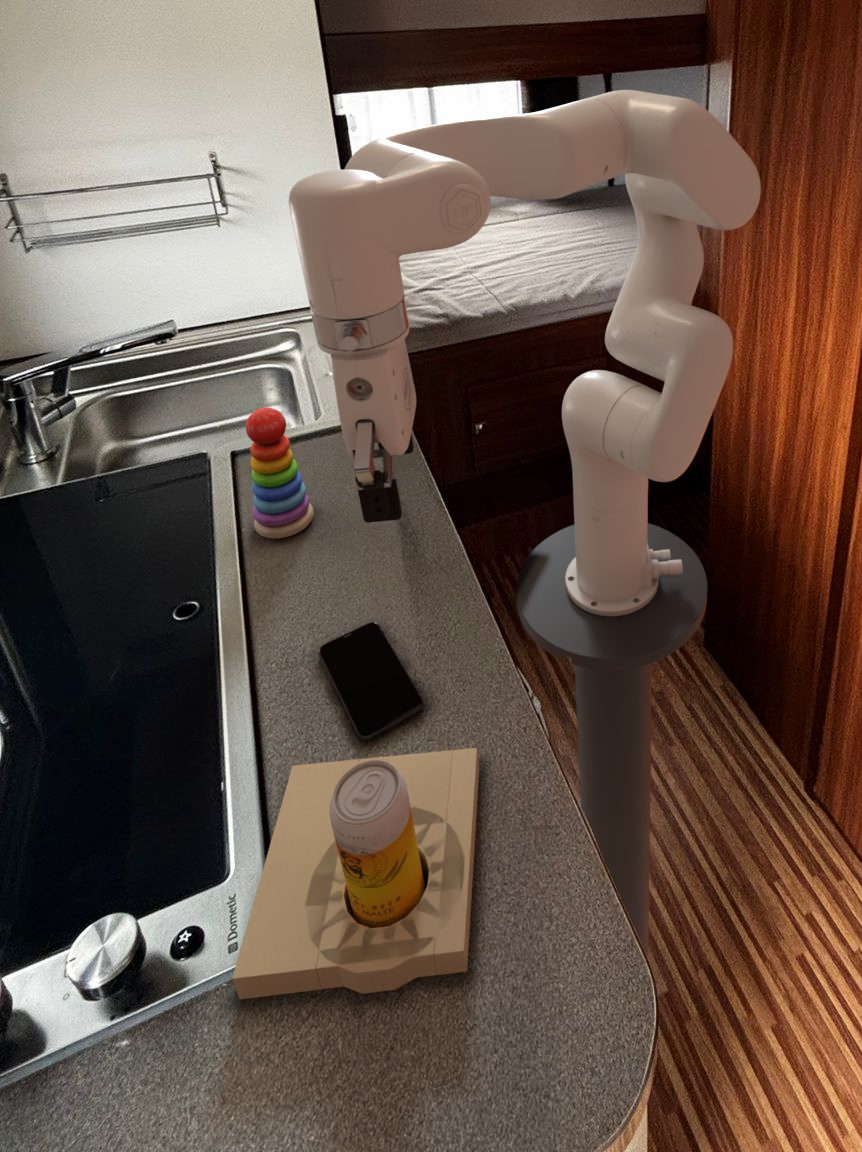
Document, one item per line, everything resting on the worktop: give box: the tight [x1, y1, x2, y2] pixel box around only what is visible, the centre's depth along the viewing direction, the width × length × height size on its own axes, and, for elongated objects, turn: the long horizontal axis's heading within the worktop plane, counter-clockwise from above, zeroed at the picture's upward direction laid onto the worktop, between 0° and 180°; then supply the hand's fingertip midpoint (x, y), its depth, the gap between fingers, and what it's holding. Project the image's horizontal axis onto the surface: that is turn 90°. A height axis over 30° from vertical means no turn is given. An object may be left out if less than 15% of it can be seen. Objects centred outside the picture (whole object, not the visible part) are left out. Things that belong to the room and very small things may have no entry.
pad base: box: [231, 747, 480, 1000], centre depth 73 cm, size 18×19×3 cm
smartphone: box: [318, 621, 425, 741], centre depth 92 cm, size 7×1×15 cm
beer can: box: [329, 760, 425, 928], centre depth 68 cm, size 6×6×15 cm
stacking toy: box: [245, 407, 315, 540], centre depth 113 cm, size 8×8×19 cm
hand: (390, 484), depth 75 cm, fingers open, 9 cm apart
